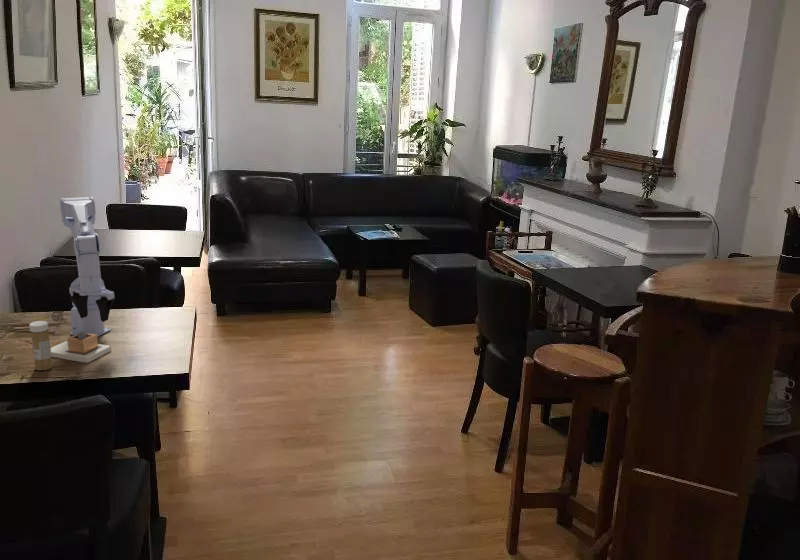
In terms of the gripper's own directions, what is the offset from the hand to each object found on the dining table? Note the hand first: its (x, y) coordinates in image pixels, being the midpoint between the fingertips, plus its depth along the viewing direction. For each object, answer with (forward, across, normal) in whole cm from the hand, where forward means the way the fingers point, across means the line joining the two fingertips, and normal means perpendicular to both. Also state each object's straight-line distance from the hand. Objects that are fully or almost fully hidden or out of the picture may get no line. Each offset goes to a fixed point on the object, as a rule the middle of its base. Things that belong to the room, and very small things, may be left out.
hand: (94, 318), depth 197 cm
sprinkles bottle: (+10, -3, -17) cm, 20 cm away
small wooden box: (+8, 0, -5) cm, 9 cm away
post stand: (+10, -2, -5) cm, 11 cm away
